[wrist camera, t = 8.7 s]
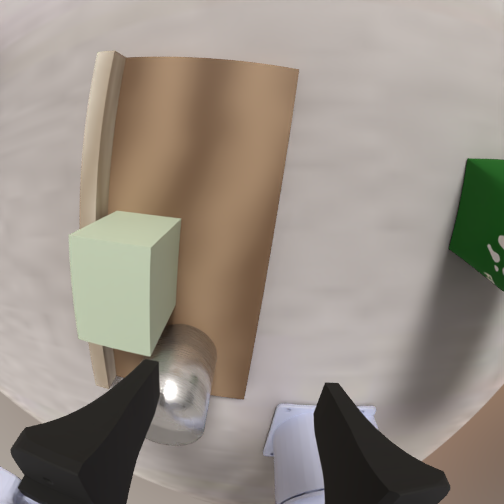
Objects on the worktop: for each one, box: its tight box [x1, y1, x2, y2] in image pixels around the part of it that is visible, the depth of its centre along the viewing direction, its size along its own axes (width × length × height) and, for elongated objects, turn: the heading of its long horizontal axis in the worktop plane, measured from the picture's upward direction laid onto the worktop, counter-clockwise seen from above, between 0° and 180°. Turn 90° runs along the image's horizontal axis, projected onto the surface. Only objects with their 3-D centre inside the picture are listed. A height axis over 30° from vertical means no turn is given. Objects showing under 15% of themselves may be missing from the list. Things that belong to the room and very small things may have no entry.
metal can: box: [140, 324, 217, 446], centre depth 19 cm, size 5×5×7 cm
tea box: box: [69, 211, 181, 357], centre depth 17 cm, size 4×6×6 cm
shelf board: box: [80, 51, 299, 399], centre depth 20 cm, size 12×24×3 cm, turn 172°
